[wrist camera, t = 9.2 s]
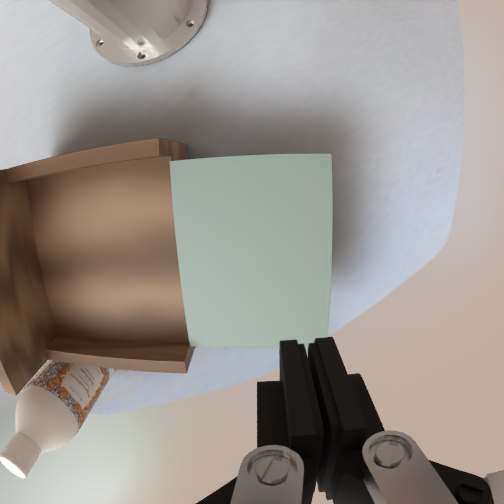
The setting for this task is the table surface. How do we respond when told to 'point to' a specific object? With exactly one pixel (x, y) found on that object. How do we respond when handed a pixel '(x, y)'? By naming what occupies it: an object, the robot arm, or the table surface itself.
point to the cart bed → (91, 263)
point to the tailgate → (254, 248)
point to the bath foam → (52, 411)
